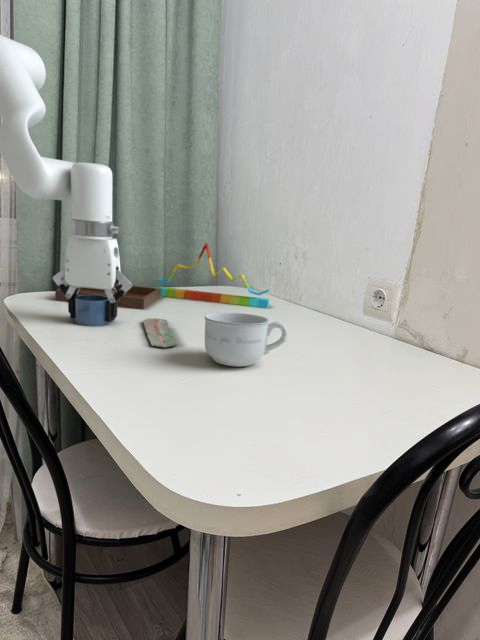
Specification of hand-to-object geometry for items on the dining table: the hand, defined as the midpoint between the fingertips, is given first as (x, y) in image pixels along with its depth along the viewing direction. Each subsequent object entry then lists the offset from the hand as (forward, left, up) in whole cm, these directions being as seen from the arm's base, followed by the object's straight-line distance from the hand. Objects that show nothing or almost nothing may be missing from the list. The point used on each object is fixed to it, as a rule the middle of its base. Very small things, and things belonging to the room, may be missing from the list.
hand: (92, 318), depth 104 cm
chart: (+19, +35, -1) cm, 40 cm away
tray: (-5, +24, -1) cm, 25 cm away
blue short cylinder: (0, 0, -1) cm, 1 cm away
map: (+15, -4, -1) cm, 16 cm away
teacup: (+33, -17, -1) cm, 37 cm away
